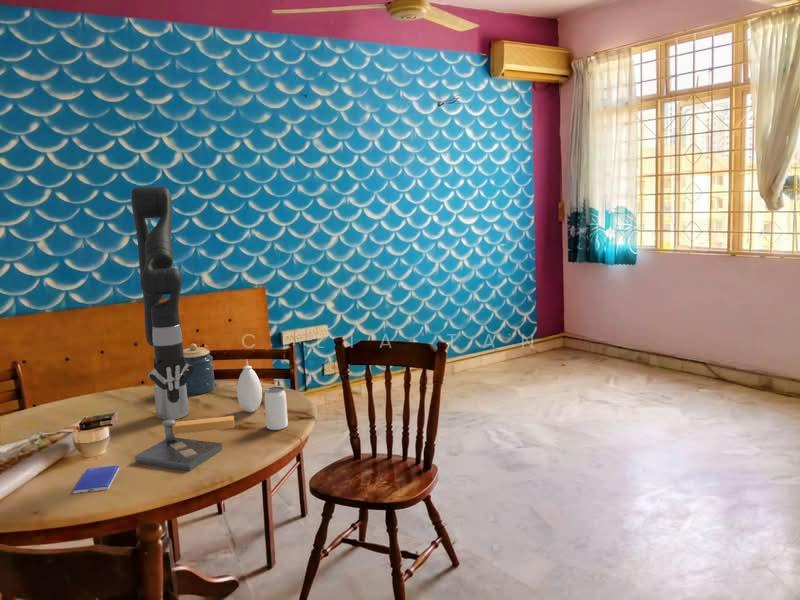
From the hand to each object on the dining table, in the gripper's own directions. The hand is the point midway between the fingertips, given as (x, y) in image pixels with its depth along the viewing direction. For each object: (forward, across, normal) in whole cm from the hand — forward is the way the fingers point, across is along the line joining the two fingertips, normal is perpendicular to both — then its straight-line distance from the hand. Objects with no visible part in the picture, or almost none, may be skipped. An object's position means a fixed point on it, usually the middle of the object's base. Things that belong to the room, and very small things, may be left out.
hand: (174, 401), depth 179 cm
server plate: (+15, -1, -3) cm, 15 cm away
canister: (+15, +27, +53) cm, 61 cm away
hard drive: (+16, -22, -2) cm, 28 cm away
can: (+15, +30, -2) cm, 34 cm away
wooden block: (+13, +7, +2) cm, 15 cm away
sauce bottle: (+15, +31, +17) cm, 38 cm away
